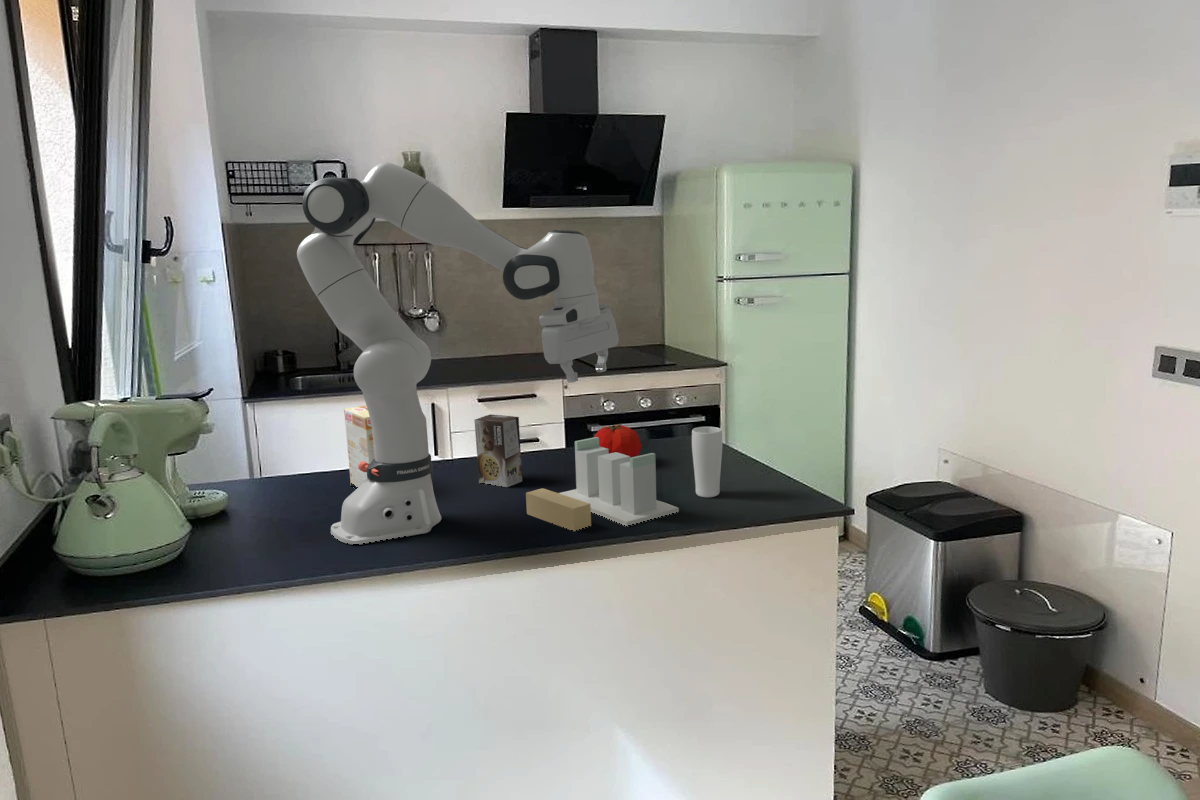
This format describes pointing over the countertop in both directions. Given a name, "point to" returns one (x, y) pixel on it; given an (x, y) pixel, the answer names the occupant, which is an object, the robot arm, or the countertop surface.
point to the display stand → (617, 484)
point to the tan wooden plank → (558, 509)
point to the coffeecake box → (358, 441)
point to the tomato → (619, 440)
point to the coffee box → (498, 450)
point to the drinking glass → (707, 460)
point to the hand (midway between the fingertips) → (587, 376)
